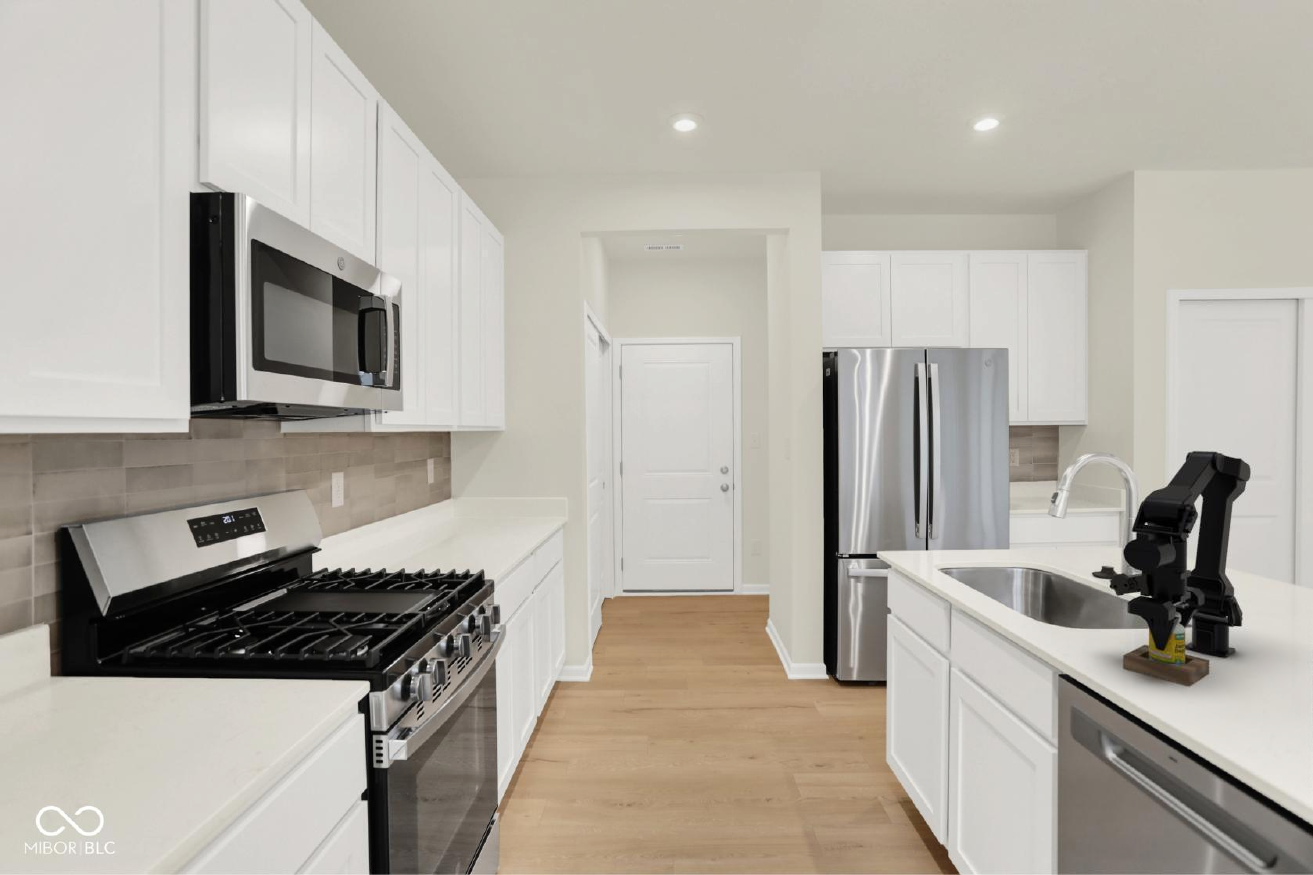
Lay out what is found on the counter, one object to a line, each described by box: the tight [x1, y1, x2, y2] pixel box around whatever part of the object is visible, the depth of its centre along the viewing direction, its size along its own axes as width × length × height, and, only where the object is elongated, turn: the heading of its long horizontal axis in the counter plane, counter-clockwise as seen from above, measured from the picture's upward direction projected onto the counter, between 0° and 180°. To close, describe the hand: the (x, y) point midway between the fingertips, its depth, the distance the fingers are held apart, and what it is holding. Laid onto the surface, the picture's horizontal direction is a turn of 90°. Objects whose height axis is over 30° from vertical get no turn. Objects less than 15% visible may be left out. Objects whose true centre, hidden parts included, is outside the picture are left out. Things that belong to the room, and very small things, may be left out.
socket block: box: [1122, 644, 1210, 687], centre depth 119 cm, size 10×10×2 cm
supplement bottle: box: [1148, 612, 1186, 667], centre depth 119 cm, size 5×5×10 cm
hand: (1166, 646), depth 119 cm, fingers closed on supplement bottle, 5 cm apart
